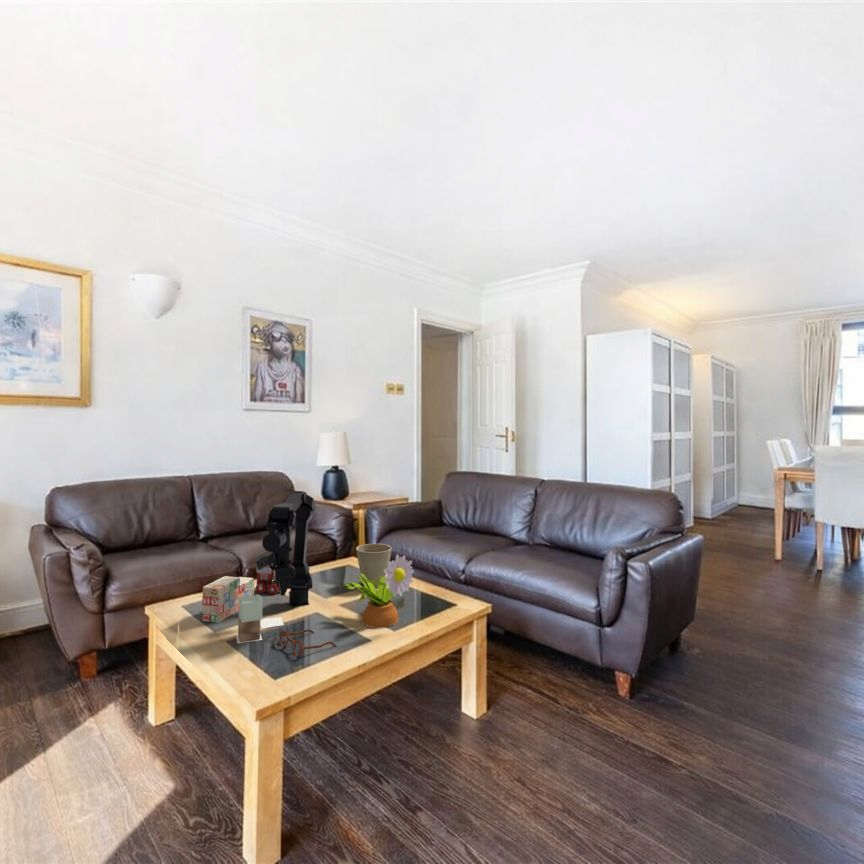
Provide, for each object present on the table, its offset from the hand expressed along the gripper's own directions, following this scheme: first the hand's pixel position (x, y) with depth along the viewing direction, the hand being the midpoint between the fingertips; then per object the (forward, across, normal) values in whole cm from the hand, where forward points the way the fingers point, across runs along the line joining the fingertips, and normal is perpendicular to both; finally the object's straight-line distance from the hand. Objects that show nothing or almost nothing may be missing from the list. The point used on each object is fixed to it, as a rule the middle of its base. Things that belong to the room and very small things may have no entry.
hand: (280, 590), depth 163 cm
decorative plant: (+13, +4, +34) cm, 37 cm away
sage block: (+6, +4, -10) cm, 12 cm away
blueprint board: (+12, +1, -7) cm, 14 cm away
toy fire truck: (+13, -38, +2) cm, 40 cm away
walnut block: (+12, +4, -10) cm, 16 cm away
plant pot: (+13, -31, +43) cm, 55 cm away
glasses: (+13, +16, +6) cm, 22 cm away
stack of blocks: (+13, -21, -14) cm, 29 cm away
